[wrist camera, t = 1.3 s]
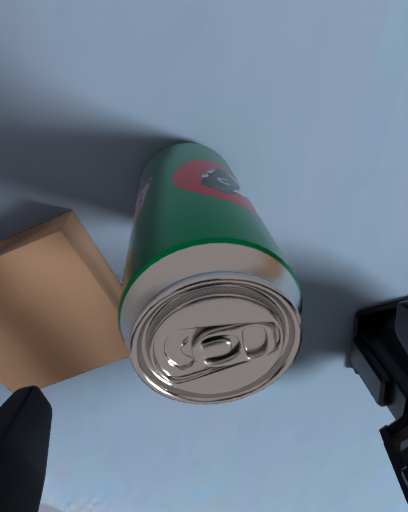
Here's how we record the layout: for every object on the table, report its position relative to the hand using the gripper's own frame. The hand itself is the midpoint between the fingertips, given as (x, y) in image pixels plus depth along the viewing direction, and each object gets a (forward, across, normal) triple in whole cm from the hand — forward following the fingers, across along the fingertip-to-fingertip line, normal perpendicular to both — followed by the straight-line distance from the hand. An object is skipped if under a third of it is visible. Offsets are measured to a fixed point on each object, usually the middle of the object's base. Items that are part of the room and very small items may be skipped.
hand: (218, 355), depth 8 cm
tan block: (+12, +10, +5) cm, 16 cm away
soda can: (+12, 0, 0) cm, 12 cm away
